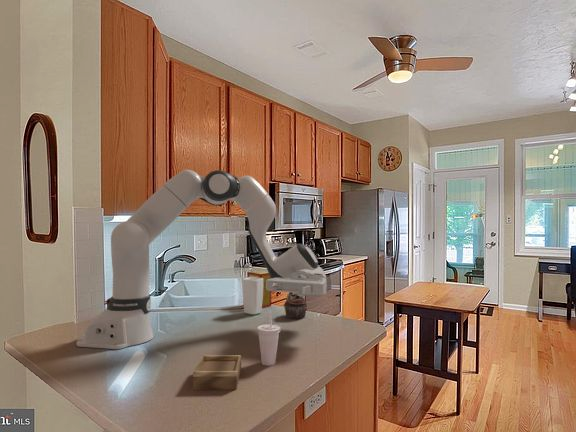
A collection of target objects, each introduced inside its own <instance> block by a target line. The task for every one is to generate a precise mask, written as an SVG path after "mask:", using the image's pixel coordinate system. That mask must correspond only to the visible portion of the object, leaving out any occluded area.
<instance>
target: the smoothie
mask: <svg viewBox="0 0 576 432" xmlns="http://www.w3.org/2000/svg"><path fill="white" fill-rule="evenodd" d="M272 319H273V313H272V311H269V324H268V323H267V324H261V325H259V326H257V331H256V332H257V333H258V340H259V350H260V358H261V364H262V365H263V366H267V367H269V366H274V365H275V364H276V359H277V353H278V352H277V351H278V346H279V345H278V344H279V334H280V332H281V326H279V325H277V324H272V323H273V320H272Z"/></svg>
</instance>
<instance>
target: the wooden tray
mask: <svg viewBox="0 0 576 432" xmlns="http://www.w3.org/2000/svg"><path fill="white" fill-rule="evenodd" d="M241 373H242V355H241V354H240V355H239V354H238V355H236V354H235V355H233V354H231V355H230V354H228V355H221V354H220V355H202V356H201V357H200V360H199V361H198V363H197V365H196V366H195V368H194V370H193V372H192V390H193V391H195V390H196V391H200V390H201V391H208V390H210V391H211V390H213V391H214V390H220V391H221V390H224V391H225V390H237V388H238V385H239V381H240V376H241Z"/></svg>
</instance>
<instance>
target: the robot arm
mask: <svg viewBox="0 0 576 432" xmlns="http://www.w3.org/2000/svg"><path fill="white" fill-rule="evenodd" d="M198 199H199V200H202V201H203V202H205V203H208V204H209V205H212V206H222V205H224V204H226V203H227V202H229V201H233V202H234V203H237V205H239V206H240V208H241V210H242V211H243V213H244V214H245V215H246V217H247V219H248V228H247V230H248V234H249V236H250V238H251V240H252V243H253V244H254V246H255V248H256V250H257V252H258V253H259V256H260V257H261V259H262V261H263V263H264V265H265V267H266V269H267V272H268V273H269V275H270V277H271V279H267V280H266V289H267V290H268V291H271V292H275V293H276V292H281V293H282V292H283V293H290V292H292V294H296V295H298V296H303V297H306V296H312V295H314V296H315V295H316V296H317V295H318V296H323V295H326V294H327V289H328V281H327V280H328V279H327V274H325V271H324V269H323V268H322V267H320V265H319V261H318V257H317V255H316V253H315V252H314V250H313V249H312V248H311V247H310V246H308V245H306V244H304V243H297V244H295V245H293V247H290V248H289V249H288V250H286V251H285V252H283V253H282V254H279V256H276V254H275V253H274V250H273V249H272V248H271V245H270V243H269V242H268V240H267V231H268V230H269V228H270V226H271V225H272V224H273V223H272V222H273V221H274V219H275V217H276V214H277V207H276V203H275V201H274V200H273V199H272V197H271V196H270V195H269V193H268V192H267V191H266V189H265V188H264V187H263V186H262V184H261V183H259V182H258V181H257V180H256V179H255V178H254V177H253V176H251V175H242V176H240V177H237V176H236V175H232V174H230V173H228V172H227V171H224V170H220V169H218V170H212V171H210V172H208V174H206V175H205V176H201V175H199V174H198V172H196V171H194V170H192V169H183V170H182V171H180V172H178V173H177V174H175V175H174V176H172V177H171V178H170V179H169V180H167V181H166V182H165V183H164V184H162V186H160V187H159V188H158V189H157V190H156V191H155V192H154V193H153V194H151V196H150V197H148V199H146V200H145V201H144V202H143V204H141V206H140V207H139V208H138V209H137V210H136V211H135V212H134V213H133V214H132V215H130V217H129V218H128V219H127V220H126V221H123V222H120V223H119V224H118V225H116V226H115V227H114V228H113V230H112V232H111V235H110V249H111V250H110V252H111V253H110V254H111V267H112V296H111V297H109V298H108V299H106V300H104V301H103V302H104V306H105V305H106V308H105V310H103V311H102V312H100V313H99V314H98V315H96V316H95V317H94V318H93V319H92V320H90V321H88V324H87V326H86V330H85V334H84V335H82V336H81V337H80V338H78V340H77V341H76V347H82V348H95V349H106V350H107V349H108V350H109V349H111V350H120V349H121V350H122V349H125V348H127V347H132V346H136V345H140V344H144V343H146V342H149V341H151V340H152V339H153V338H154V331H153V328H152V322H151V314H150V312H151V308H152V306H151V305H152V301H151V300H152V299H151V294H150V244H152V242H154V241H155V239H157V238H158V237H159V236H160V235H161V233H162V232H164V231H165V230H166V229H167V228H168V227H169V226H170V225H171V224H172V223H173V222H174V221H175V220H176V219H178V217H179V216H180V215H182V214H183V212H184V211H185V210H187V208H188V207H190V205H191V204H193V203H194V202H195V201H196V200H198Z"/></svg>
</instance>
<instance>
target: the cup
mask: <svg viewBox="0 0 576 432" xmlns="http://www.w3.org/2000/svg"><path fill="white" fill-rule="evenodd" d="M262 301H263V278H257V277H249V278H248V277H245V278H242V303H243V310H244V311H243V313H244V314H246V315H251V316H255V315H256V316H257V315H258V314H260V313H261V312H262V309H263V308H262Z"/></svg>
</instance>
